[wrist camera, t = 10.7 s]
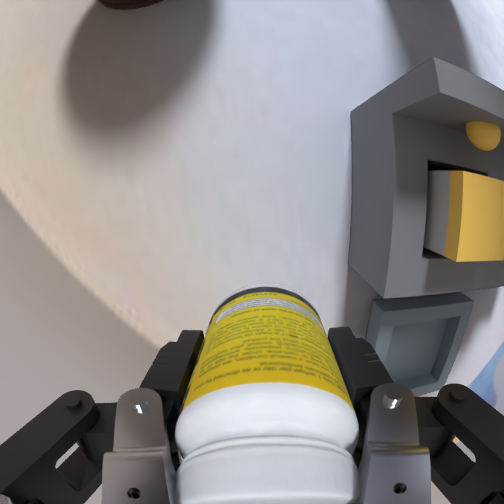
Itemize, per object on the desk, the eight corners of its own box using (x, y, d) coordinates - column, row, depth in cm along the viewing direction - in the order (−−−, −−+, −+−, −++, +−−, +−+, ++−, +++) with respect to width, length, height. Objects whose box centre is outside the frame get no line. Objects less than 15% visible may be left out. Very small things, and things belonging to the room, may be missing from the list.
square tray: (352, 393, 21) (358, 408, 19) (372, 300, 19) (382, 311, 17) (433, 377, 21) (442, 388, 19) (460, 292, 19) (473, 300, 17)
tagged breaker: (384, 230, 17) (456, 261, 10) (387, 172, 16) (463, 170, 9) (428, 231, 17) (503, 260, 10) (431, 178, 16) (510, 183, 9)
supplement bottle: (194, 296, 11) (101, 475, 3) (307, 266, 11) (396, 451, 3) (231, 383, 12) (208, 546, 4) (328, 361, 12) (377, 525, 4)
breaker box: (347, 264, 18) (422, 338, 9) (350, 111, 16) (433, 56, 6) (504, 260, 18) (574, 294, 8) (510, 153, 16) (586, 156, 6)
